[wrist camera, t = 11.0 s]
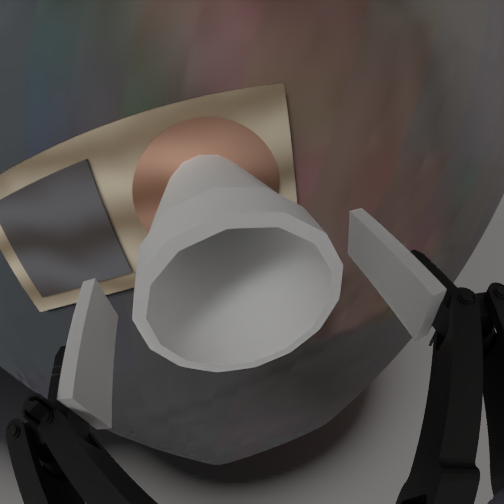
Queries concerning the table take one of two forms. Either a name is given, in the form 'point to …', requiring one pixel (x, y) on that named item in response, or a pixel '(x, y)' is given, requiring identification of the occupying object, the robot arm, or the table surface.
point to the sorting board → (128, 187)
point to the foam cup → (231, 271)
